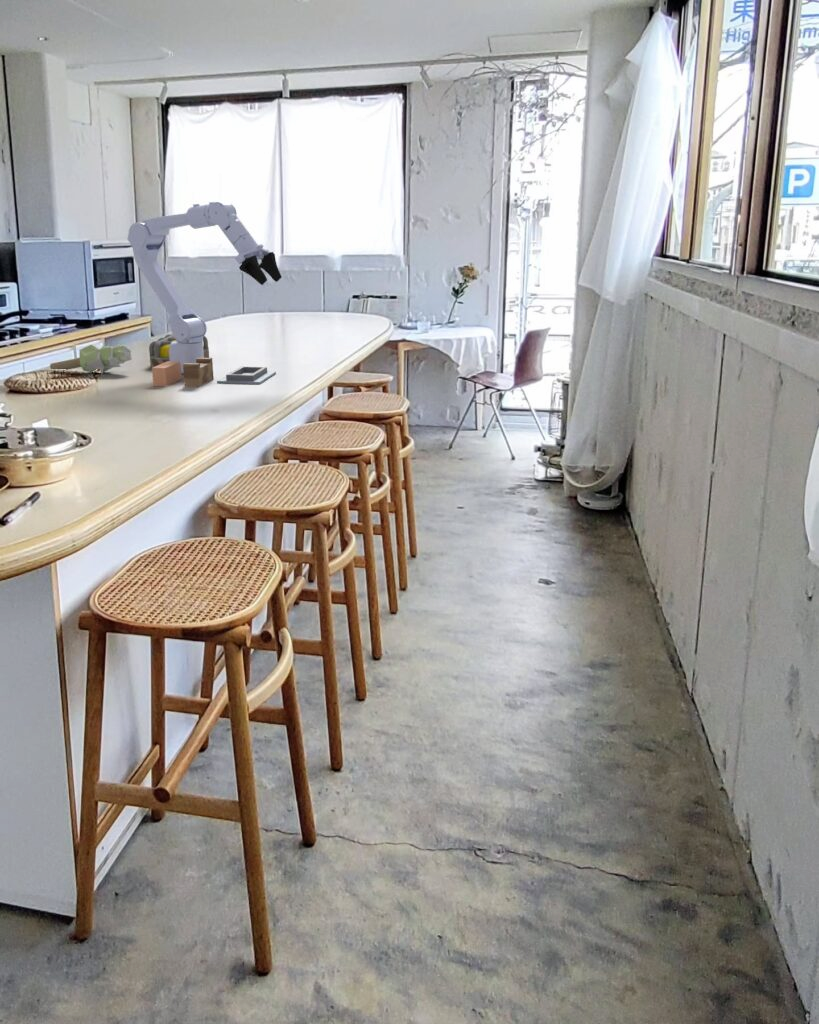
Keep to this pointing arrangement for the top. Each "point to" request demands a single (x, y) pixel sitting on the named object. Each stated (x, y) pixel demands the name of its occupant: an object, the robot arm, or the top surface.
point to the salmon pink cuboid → (166, 373)
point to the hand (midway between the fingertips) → (271, 281)
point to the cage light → (161, 350)
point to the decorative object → (96, 359)
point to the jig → (247, 375)
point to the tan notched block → (198, 372)
